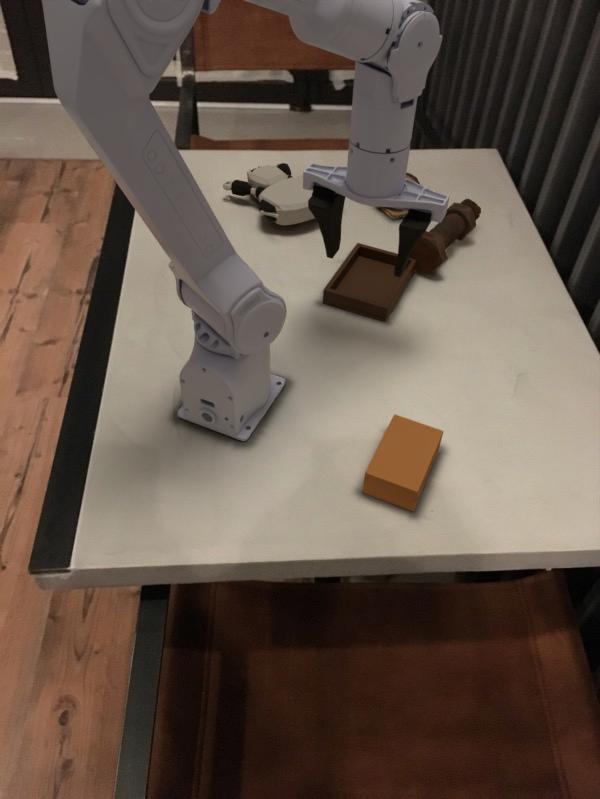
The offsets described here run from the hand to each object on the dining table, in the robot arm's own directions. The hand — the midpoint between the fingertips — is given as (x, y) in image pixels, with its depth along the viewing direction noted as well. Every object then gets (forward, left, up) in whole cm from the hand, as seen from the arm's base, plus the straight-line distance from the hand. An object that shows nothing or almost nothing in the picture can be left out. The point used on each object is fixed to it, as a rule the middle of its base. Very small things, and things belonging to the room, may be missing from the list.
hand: (366, 262), depth 73 cm
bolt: (+21, -4, -9) cm, 23 cm away
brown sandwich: (+30, +6, -10) cm, 32 cm away
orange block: (-18, -11, -9) cm, 23 cm away
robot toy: (+20, +20, -10) cm, 30 cm away
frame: (+8, +2, -9) cm, 13 cm away
